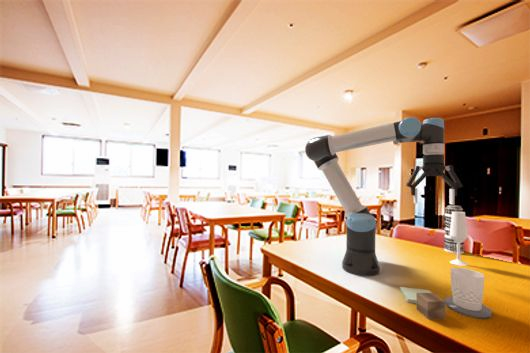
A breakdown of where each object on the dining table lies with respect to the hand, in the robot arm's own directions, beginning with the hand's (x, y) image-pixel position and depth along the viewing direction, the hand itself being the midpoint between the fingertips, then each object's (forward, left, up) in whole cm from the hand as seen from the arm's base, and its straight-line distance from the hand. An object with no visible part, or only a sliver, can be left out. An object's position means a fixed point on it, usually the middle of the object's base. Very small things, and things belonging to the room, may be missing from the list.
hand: (433, 203), depth 103 cm
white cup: (-2, -32, -28) cm, 43 cm away
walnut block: (-14, -39, -29) cm, 50 cm away
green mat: (-14, -29, -29) cm, 43 cm away
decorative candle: (+22, +36, -29) cm, 51 cm away
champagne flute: (+15, +14, -29) cm, 35 cm away
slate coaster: (-2, -32, -29) cm, 43 cm away
